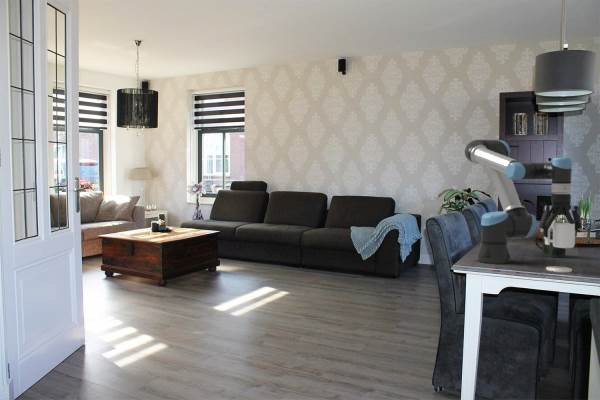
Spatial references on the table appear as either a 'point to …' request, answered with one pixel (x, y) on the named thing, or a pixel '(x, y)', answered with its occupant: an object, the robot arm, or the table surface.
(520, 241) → the table surface
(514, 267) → the table surface
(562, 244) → the cup
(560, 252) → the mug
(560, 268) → the saucer
